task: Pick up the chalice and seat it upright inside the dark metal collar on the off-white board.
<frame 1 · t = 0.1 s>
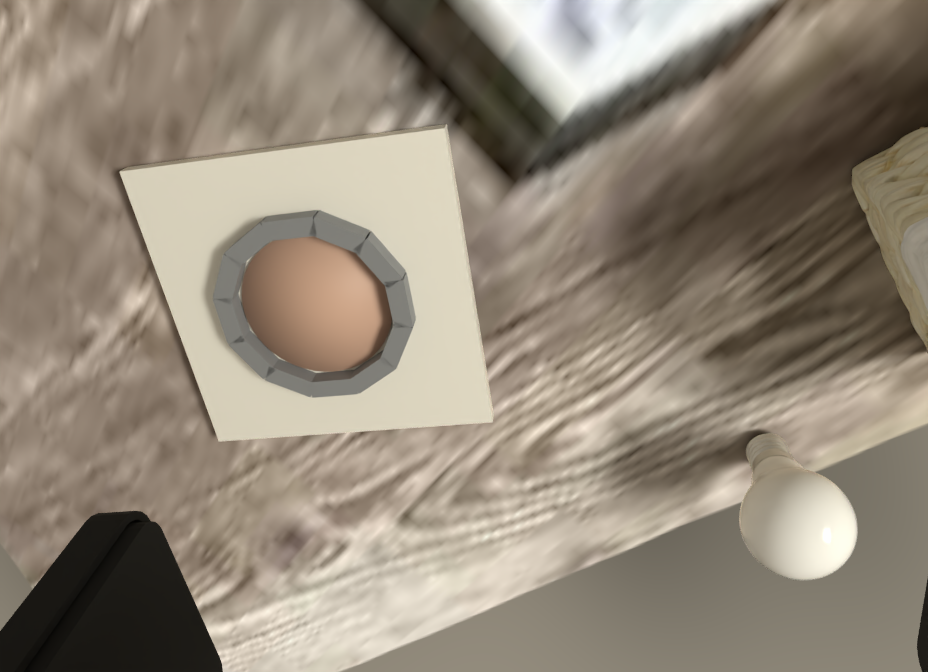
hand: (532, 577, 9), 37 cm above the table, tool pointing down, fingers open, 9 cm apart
lightbulb: (763, 442, 52), on the table
seat board: (321, 297, 49), on the table
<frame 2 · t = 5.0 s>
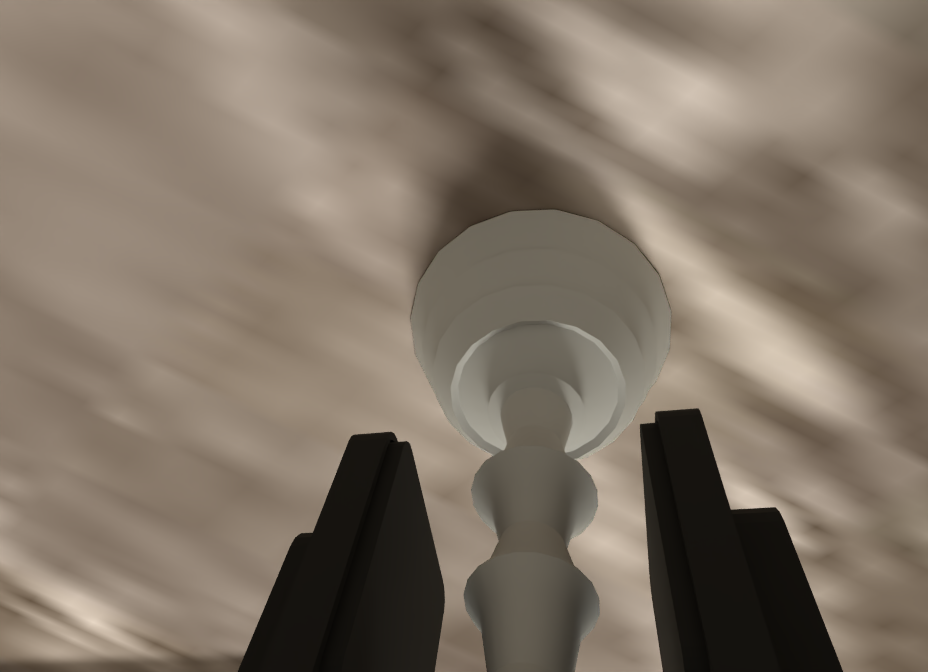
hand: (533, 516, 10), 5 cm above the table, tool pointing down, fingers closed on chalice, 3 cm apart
chalice: (539, 329, 15), on the table, touching gripper
when the fingers open (8 cm above the table, at t = 11.6 s): chalice drops 2 cm, resting on seat board.
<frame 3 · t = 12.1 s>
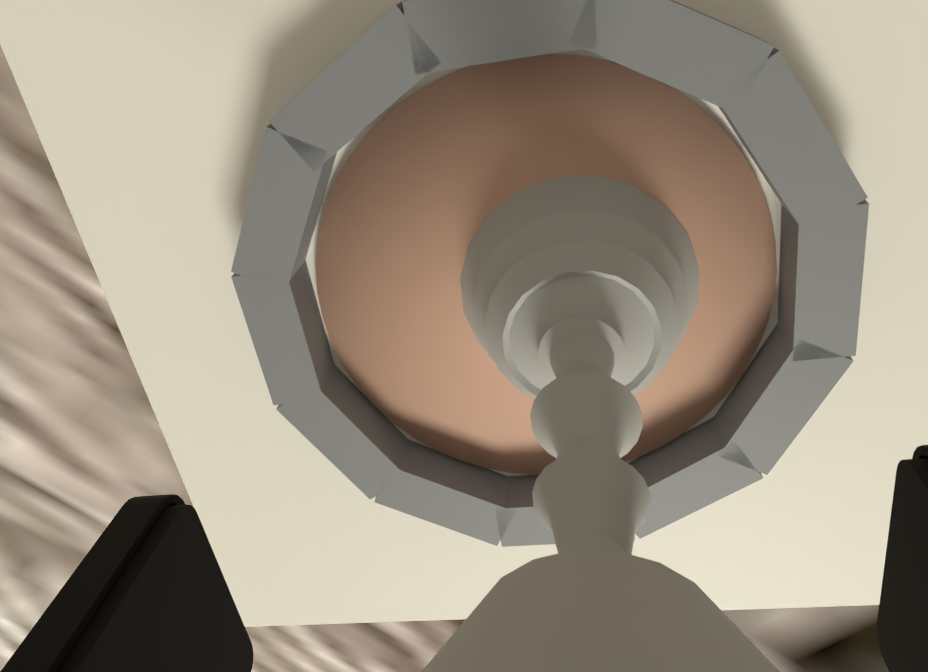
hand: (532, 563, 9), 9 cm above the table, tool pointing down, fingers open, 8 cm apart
chalice: (577, 287, 16), point 1 cm above the table, touching seat board
seat board: (539, 272, 17), on the table
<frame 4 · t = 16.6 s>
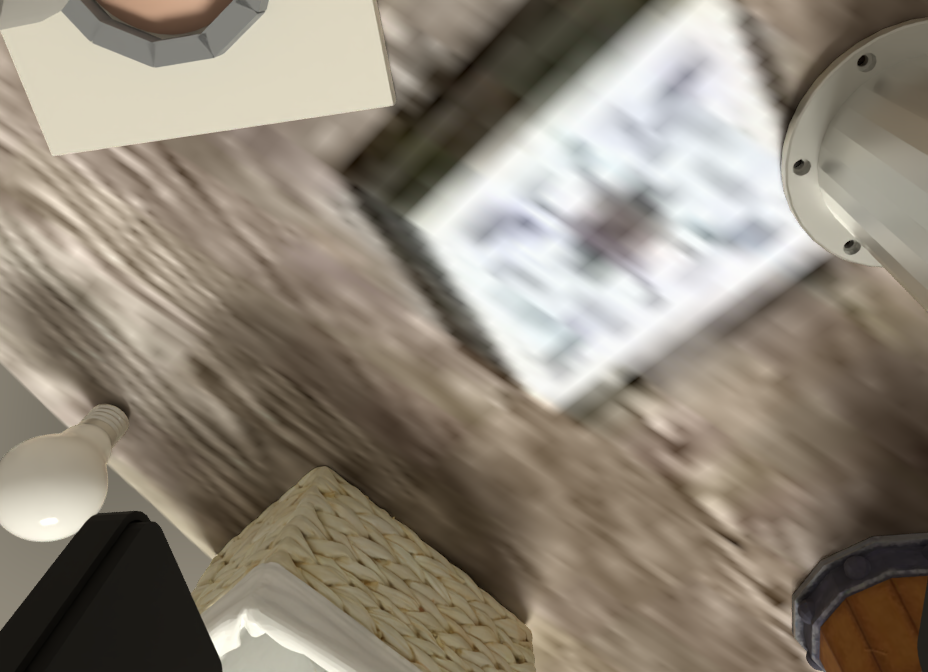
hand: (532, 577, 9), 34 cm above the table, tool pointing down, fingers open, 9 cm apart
mug: (882, 629, 55), on the table
lightbulb: (116, 412, 53), on the table
storage basket: (375, 583, 59), on the table
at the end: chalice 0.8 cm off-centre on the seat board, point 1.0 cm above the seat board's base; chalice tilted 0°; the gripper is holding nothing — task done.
